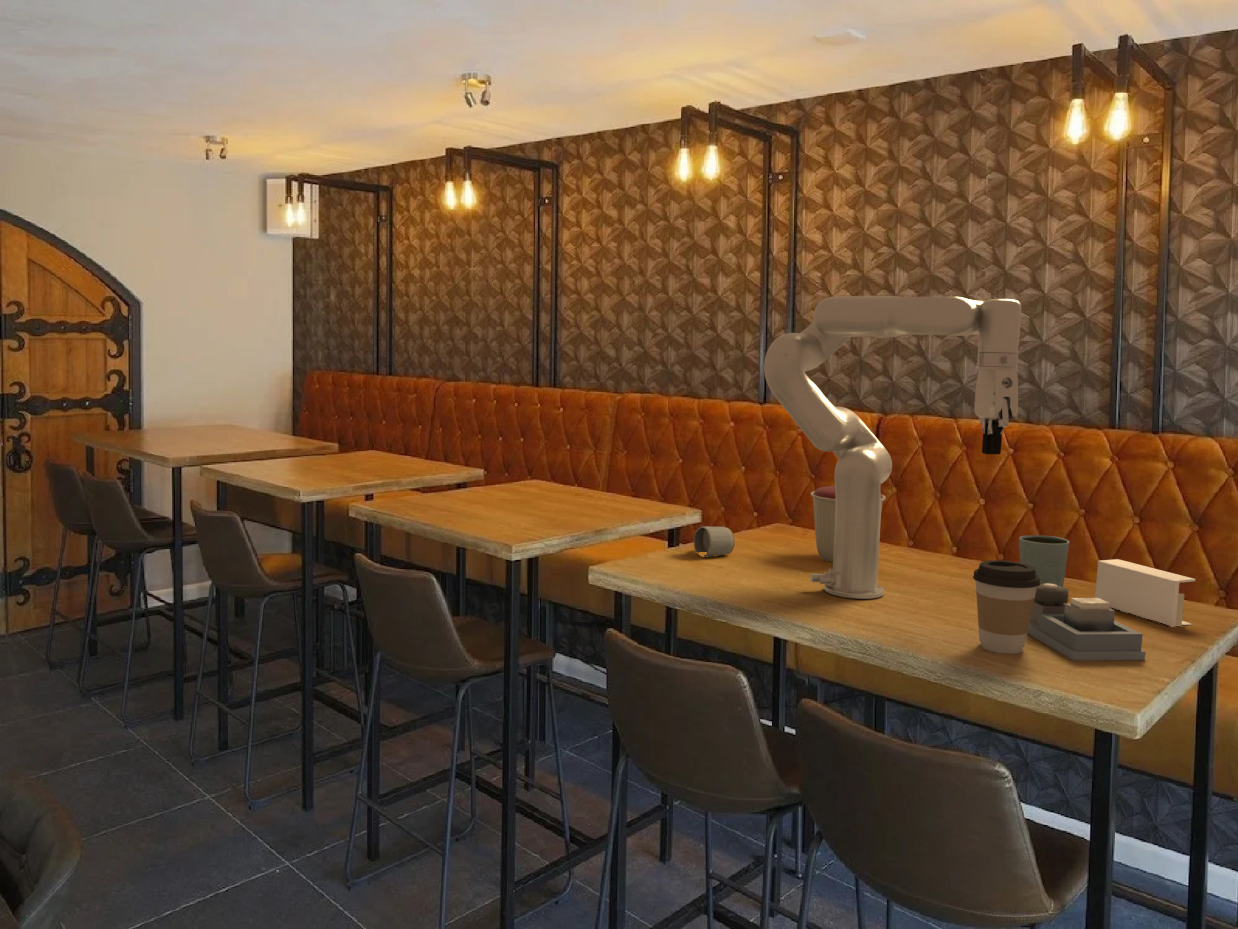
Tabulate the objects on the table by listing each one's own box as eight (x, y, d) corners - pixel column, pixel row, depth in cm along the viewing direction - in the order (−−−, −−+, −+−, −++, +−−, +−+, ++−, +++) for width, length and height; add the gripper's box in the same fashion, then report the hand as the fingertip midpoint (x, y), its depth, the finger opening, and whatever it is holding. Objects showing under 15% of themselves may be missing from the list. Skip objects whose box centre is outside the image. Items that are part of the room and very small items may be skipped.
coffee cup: (1019, 639, 186) (1025, 559, 184) (1047, 658, 175) (1053, 573, 173) (958, 638, 186) (963, 558, 184) (982, 657, 175) (988, 572, 173)
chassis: (1073, 660, 174) (1075, 629, 173) (1013, 624, 196) (1014, 596, 195) (1144, 660, 175) (1147, 629, 175) (1077, 624, 197) (1079, 596, 196)
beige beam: (1192, 626, 198) (1196, 579, 197) (1171, 628, 196) (1175, 581, 195) (1109, 600, 217) (1113, 557, 215) (1089, 602, 215) (1093, 559, 213)
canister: (793, 555, 256) (797, 472, 253) (853, 550, 263) (857, 470, 260) (835, 570, 239) (839, 482, 236) (897, 565, 246) (902, 480, 243)
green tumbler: (1070, 599, 216) (1074, 544, 215) (1020, 596, 218) (1024, 541, 217) (1059, 588, 226) (1063, 536, 225) (1011, 585, 228) (1015, 533, 227)
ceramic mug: (736, 557, 252) (737, 526, 251) (709, 560, 248) (710, 529, 247) (712, 550, 261) (712, 520, 260) (685, 552, 257) (686, 522, 256)
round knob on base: (1040, 624, 188) (1042, 589, 187) (1023, 615, 194) (1025, 580, 194) (1072, 624, 189) (1075, 589, 188) (1055, 615, 195) (1057, 581, 194)
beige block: (1112, 643, 179) (1115, 604, 178) (1077, 643, 179) (1080, 604, 178) (1096, 635, 184) (1099, 597, 183) (1062, 635, 184) (1065, 597, 183)
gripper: (1034, 363, 193) (1027, 458, 196) (998, 361, 208) (992, 450, 210) (996, 362, 193) (989, 458, 195) (963, 360, 207) (957, 449, 210)
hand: (991, 453), depth 203 cm, fingers closed
